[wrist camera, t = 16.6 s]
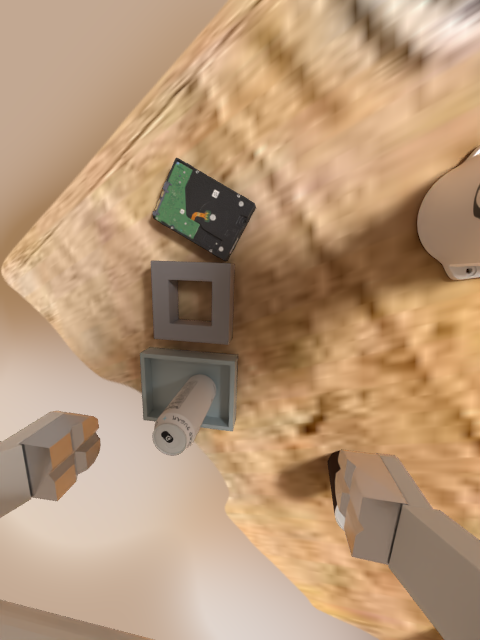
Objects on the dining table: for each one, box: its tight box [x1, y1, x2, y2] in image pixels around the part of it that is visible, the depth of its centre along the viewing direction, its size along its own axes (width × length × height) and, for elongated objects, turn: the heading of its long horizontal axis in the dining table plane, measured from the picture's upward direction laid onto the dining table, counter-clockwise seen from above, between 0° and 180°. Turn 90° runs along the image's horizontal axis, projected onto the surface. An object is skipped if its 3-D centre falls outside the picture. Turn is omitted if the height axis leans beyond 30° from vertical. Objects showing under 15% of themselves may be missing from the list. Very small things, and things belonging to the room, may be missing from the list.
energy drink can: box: [153, 374, 216, 456], centre depth 38 cm, size 6×6×15 cm
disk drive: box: [152, 158, 256, 261], centre depth 39 cm, size 10×3×15 cm
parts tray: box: [140, 347, 238, 431], centre depth 45 cm, size 18×14×4 cm
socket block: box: [151, 261, 235, 345], centre depth 41 cm, size 14×14×4 cm
